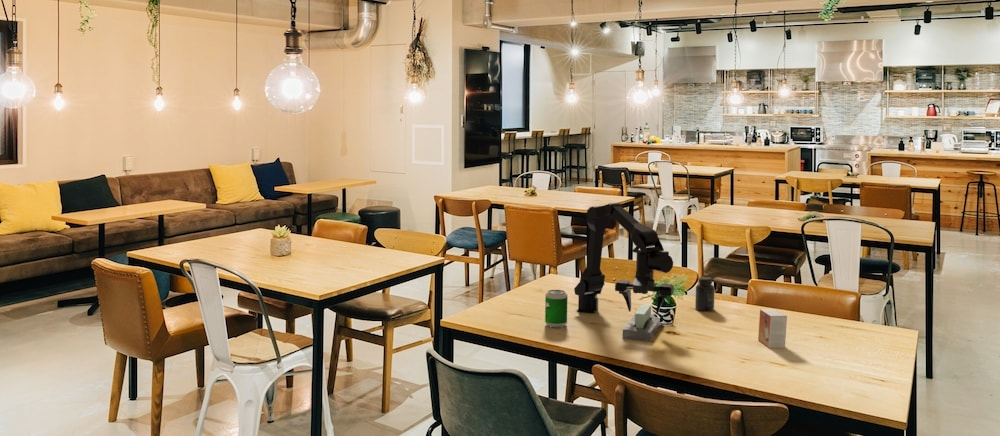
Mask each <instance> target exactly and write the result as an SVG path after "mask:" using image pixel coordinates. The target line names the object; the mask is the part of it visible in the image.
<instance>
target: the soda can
mask: <svg viewBox="0 0 1000 436" xmlns="http://www.w3.org/2000/svg"><path fill="white" fill-rule="evenodd" d="M544 296H545V299H544V300H545V303H544V304H545V311H544V312H545V313H544V314H545V315H544V322H545V324H546V325H547V327H549V326H551V327H550V328H552V327H562V328H564V327H565V326H566V325H567V324H568V293H566V291H565V290H562V289H550V290H547V292H546V293H545V295H544ZM563 326H564V327H563Z"/></svg>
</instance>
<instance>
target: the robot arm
mask: <svg viewBox="0 0 1000 436" xmlns="http://www.w3.org/2000/svg"><path fill="white" fill-rule="evenodd" d="M612 218H613V220H615V221H616V222H617V224H619V225H620V226H621V227H623V229H624V230H625V231H626V232H627V233H628V234H629V235H630V240H631V241H632V243H633V244H634V246H635V247H634V248H633V249H632V250H631V251H632V253H635V254H636V264H635V266H636V267H635V268H636V269H635V276H634V279H633V282H632V283H631V281H630V280H627V279H626V280H625V279H618V281H617V282H616V283H615V285H614V291H615V292H618V294H621V296H623V298H624V300H625V303H626V306H627V309H628V312H631V311H632V297H631V296H632V293H633V294H642V295H647V294H648V293H649V292H657V293H658V294H659V295H658V296H657V303H656V311H655V312H656V314H655V315H659V313H660V311H661V310H660V309H661V307H662V305H663V303H664V300H665V299H667V298H668V297H671V296H672V295H673V294H674V292H675V290H674V288H675V287H674V285H673V284H672V283H661V284H660V285H656V282H655V281H656V280H655V279H654V271H657V272H660V273H663V274H664V273H665V274H667V273H670V272H671V270H672V269H673V267H674V260H673V258H672V256H670V253H669V251H665V250H664V247H663V245H662V243H661V239H660V238H659V234H658V233H657V231H656V230H655V229H653V228H652V227H651V226H647V225H644V224H642V223H640V222H639V220H638V219H636V218H635V217H634V216H633V215H631V213H630V212H628V211H627V210H626V209H625V208H624V207H623V206H622V204H621V203H619V202H611V203H610V202H609V203H608V204H604V205H596V206H594V205H593V206H590V207H588V208H587V210H586V223H587V225H588V228H589V238H588V248H587V258H586V267H585V269H583V271H582V272H581V276H580V279H579V282H578V283H577V285H575V287H574V289H573V290H574V295H576V296H578V302H577V303H578V306H577V307H578V308H577V309H576V312H580V313H590V314H595V312H598V310H599V298H598V295H601V294H602V291H603V287H604V286H605V284H606V283H605V278H606V275H605V274H603V271H602V270H601V263H602V253H603V245H604V235H605V231H606V229H607V228H608V226H609V225H610V221H611V219H612ZM631 290H632V292H631Z"/></svg>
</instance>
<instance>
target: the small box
mask: <svg viewBox="0 0 1000 436" xmlns="http://www.w3.org/2000/svg"><path fill="white" fill-rule="evenodd" d="M758 321H759V322H758V335H757V336H758V338H757V341H758V342H760V343H762V344H763V345H764V346H766V348H768V349H776V348H777V349H780V348H781V349H782V348H786V341H787V339H786V338H787V325H788V324H787V323H788V322H787V321H788V316H787V315H786V314H784V313H782V312H781V311H779V310H778V309H777V308H776V309H774V308H770V309H769V308H767V309H766V308H765V309H763V308H762V309H760V310H759V320H758Z"/></svg>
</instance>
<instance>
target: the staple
mask: <svg viewBox="0 0 1000 436" xmlns="http://www.w3.org/2000/svg"><path fill="white" fill-rule="evenodd" d="M651 314H652V305H651V304H644V303H643V304H641V306H640V307H639V308H638V309H637V311H636V312H635V313H634V315H635V324H636V327H637V328H644V324H645V322H646V321H647V320H650V316H651Z"/></svg>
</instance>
